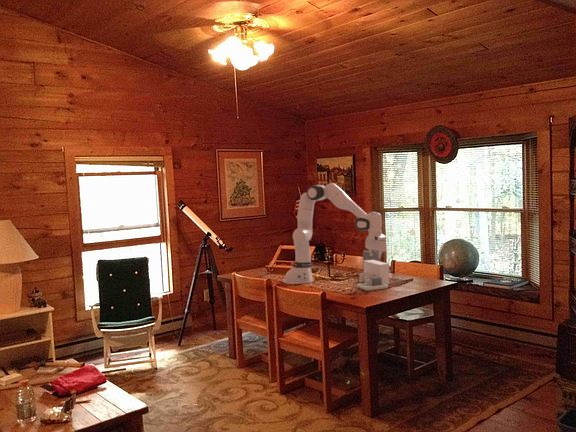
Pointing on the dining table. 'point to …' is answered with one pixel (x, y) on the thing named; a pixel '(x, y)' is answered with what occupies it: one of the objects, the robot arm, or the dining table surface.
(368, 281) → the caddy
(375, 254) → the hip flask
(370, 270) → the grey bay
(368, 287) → the sage tray
